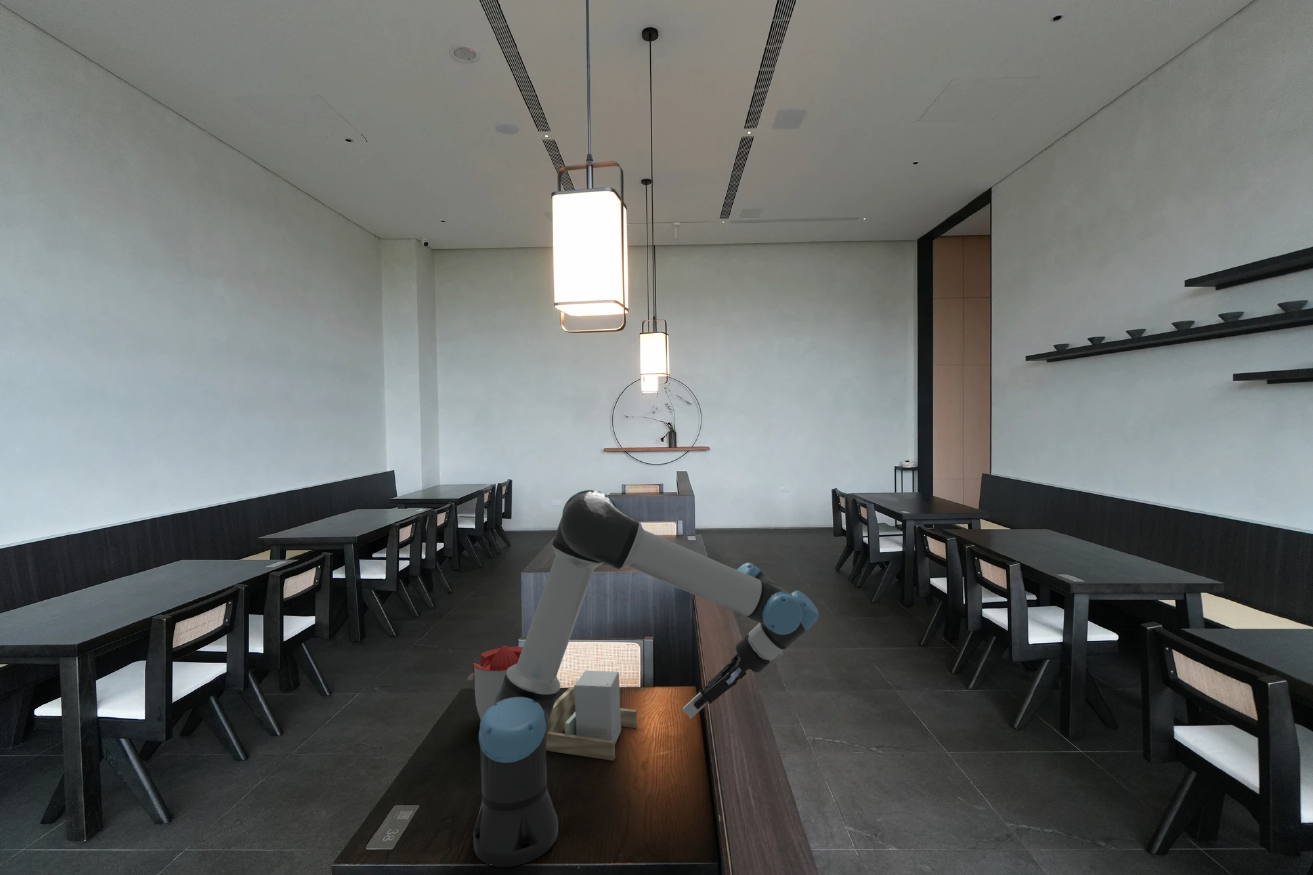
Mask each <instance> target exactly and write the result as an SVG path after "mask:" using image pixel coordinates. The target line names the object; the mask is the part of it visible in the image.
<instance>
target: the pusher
mask: <svg viewBox="0 0 1313 875" xmlns="http://www.w3.org/2000/svg"><path fill="white" fill-rule="evenodd" d="M564 734H570V735H577V733H576V712H575V713H574V714H573V715H572V716H571V717H570V718H569V719H568V720H567V721H566V722H565V730H564Z"/></svg>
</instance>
